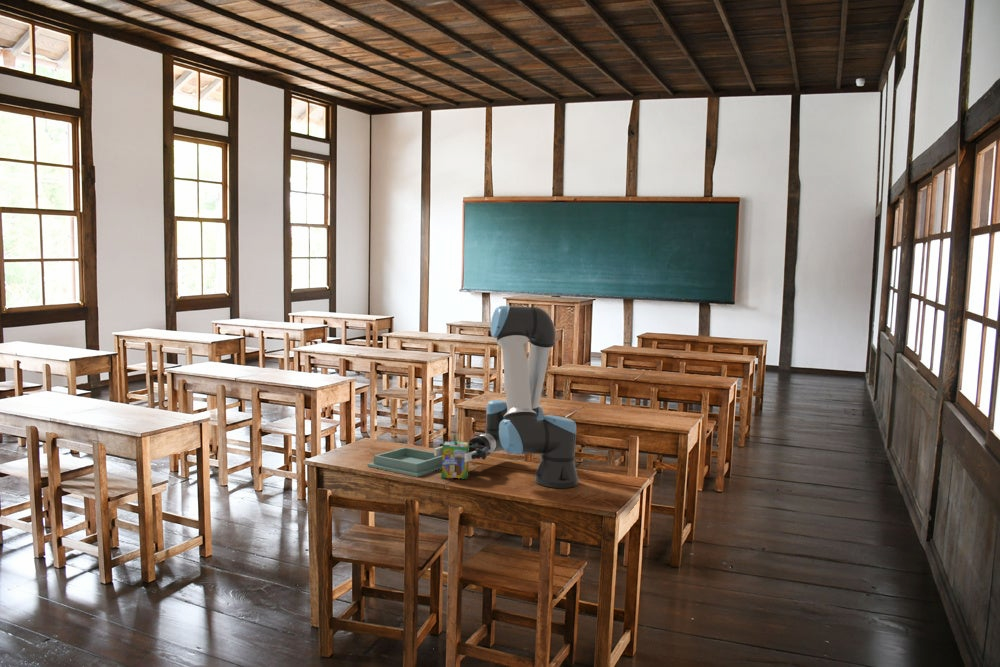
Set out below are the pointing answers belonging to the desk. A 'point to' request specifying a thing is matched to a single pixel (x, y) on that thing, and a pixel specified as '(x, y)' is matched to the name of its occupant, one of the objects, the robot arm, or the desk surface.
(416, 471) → the chalk holder
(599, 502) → the desk surface
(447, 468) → the chalk box
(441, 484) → the desk surface
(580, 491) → the desk surface
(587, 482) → the desk surface
